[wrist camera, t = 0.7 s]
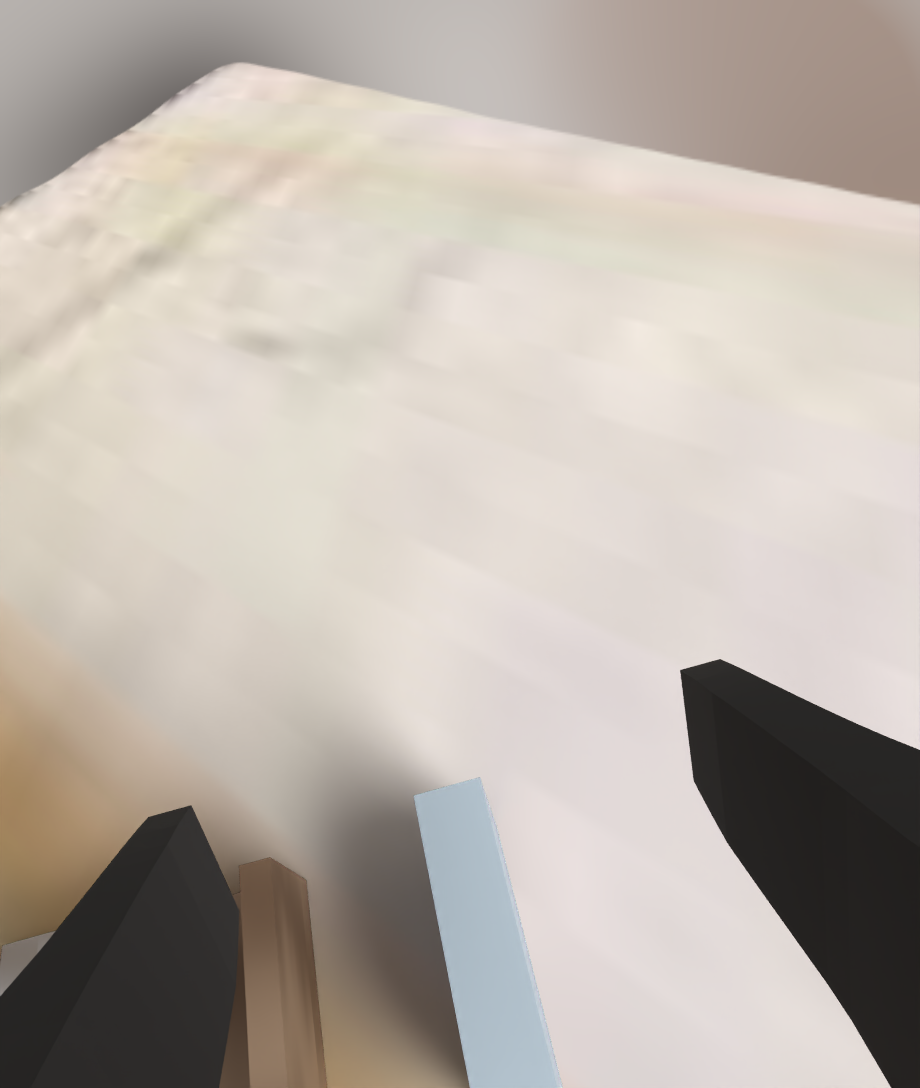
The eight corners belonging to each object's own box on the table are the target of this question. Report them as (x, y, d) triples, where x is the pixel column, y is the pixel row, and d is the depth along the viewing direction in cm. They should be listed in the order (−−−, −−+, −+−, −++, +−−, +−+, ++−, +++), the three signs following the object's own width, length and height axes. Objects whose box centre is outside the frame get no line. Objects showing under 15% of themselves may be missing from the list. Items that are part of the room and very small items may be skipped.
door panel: (566, 1100, 22) (564, 1116, 17) (501, 1119, 22) (480, 1140, 17) (497, 828, 26) (479, 777, 21) (443, 843, 26) (413, 795, 21)
